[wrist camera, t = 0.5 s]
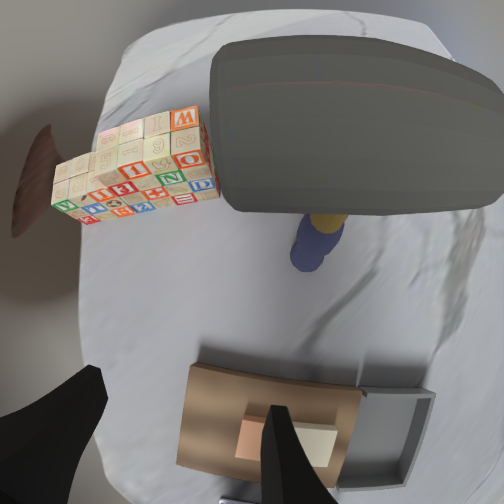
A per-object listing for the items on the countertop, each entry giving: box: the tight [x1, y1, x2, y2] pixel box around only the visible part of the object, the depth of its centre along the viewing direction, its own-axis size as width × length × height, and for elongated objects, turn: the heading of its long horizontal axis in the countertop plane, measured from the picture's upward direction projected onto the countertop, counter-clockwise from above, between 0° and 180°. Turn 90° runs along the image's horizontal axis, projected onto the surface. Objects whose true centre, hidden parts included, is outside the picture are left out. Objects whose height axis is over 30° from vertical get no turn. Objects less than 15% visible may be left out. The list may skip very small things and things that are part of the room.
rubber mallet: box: [209, 35, 504, 272], centre depth 21 cm, size 12×8×30 cm, turn 92°
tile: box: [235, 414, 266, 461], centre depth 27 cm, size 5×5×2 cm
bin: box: [336, 386, 436, 492], centre depth 28 cm, size 14×10×4 cm
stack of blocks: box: [51, 105, 220, 225], centre depth 34 cm, size 21×6×12 cm, turn 98°
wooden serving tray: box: [176, 362, 363, 488], centre depth 30 cm, size 14×20×3 cm
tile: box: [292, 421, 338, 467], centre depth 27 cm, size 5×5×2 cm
